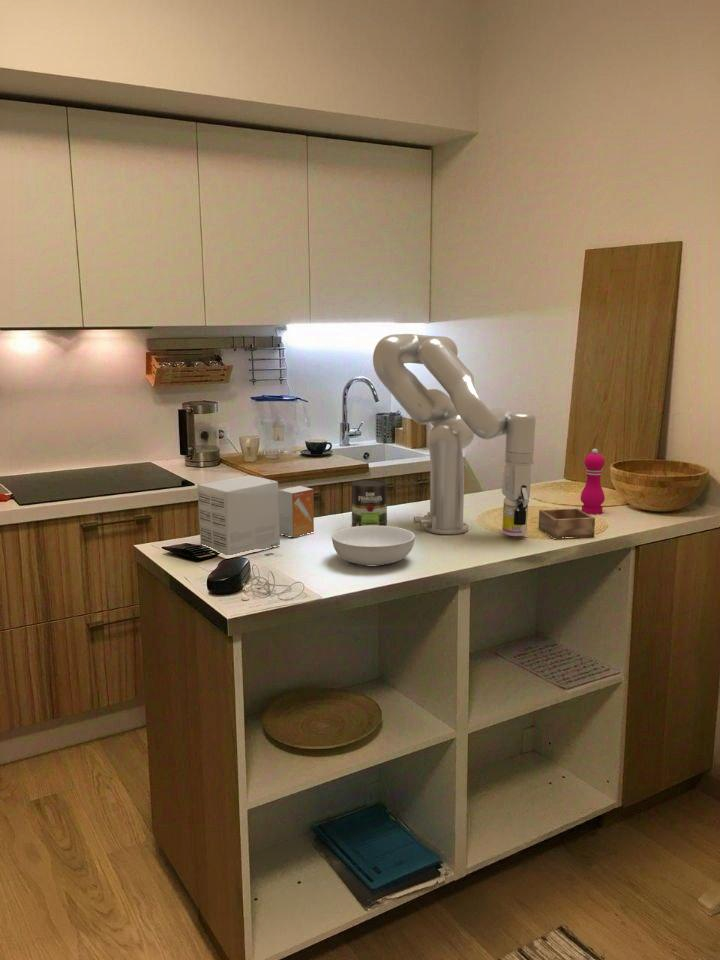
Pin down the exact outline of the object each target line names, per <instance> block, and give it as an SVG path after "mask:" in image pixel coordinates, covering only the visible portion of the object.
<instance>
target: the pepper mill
mask: <svg viewBox="0 0 720 960" xmlns="http://www.w3.org/2000/svg"><path fill="white" fill-rule="evenodd" d="M598 451H599V450H598V449H597V448H593V449H592V450H591V453H590V454H587V455H586V457H585V458H584V466H585V467H586V468H585V472H584V473H585V474H586V482H585V485H584V488H583V489H582V491H581V493H580V502H581V503H582V505H581V511H583V512H585V513H587V514H589V515H599V514H602V513H603V506H602V504H603V503H604V502H605V498H606V497H605V496H606V495H605V493H604V490H603V488H602V487H603V486H602V485H601V475H603V469H602V468H604V466H605V464H606V463H605V458H604V456H603V455H602V454H600V453H599V452H598Z"/></svg>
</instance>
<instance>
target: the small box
mask: <svg viewBox="0 0 720 960" xmlns="http://www.w3.org/2000/svg"><path fill="white" fill-rule="evenodd" d="M278 501H279V533H280V534H283V535H287V536H291V537H295V538H297V537H296V536H299V537H301V536H300V535H303V534H307V533H311V532H315V525H314V523H315V521H314V513H315V512H314V510H315V509H314V508H315V507H314V506H315V505H314V488H310V487H306V486H302V485H297V486H293V487H287V488H283V489H278ZM283 535H282V536H283ZM287 536H286V537H287ZM303 536H304V535H303Z"/></svg>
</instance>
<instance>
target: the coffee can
mask: <svg viewBox="0 0 720 960" xmlns="http://www.w3.org/2000/svg"><path fill="white" fill-rule="evenodd" d="M350 484H351V485H350V486H351V527H355V526H368V525H377V526H388V523H387V522H388V519H387V518H388V509H387V508H388V482H387V481H385V480H382V479H375V478H374V479H373V478H368V479H367V478H365V479H364V478H363V479H362V478H361V479H356V480H352V481H351V482H350Z"/></svg>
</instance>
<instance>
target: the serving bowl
mask: <svg viewBox="0 0 720 960" xmlns="http://www.w3.org/2000/svg"><path fill="white" fill-rule="evenodd" d="M415 538H416V535H415V533H414V532H412V531H410V530H409V529H405V528H401V527H397V526H389V525H387V526H377V525H368V526H355V527H352V526H350V527H345V528H341V529H339V530H336V531H334V532H333V533H332V534H331V542H332V545H333V548H334V550H335V552H336V553H337V554H338V556H339V557H340V558H342V559H343V560H345V561H347V562H349V563H353V564H356V565H360V564H362V565H361V566H365V565H381V566H385V565H384V564H386V565H389V564H392V563H396V562H398V561H401V560H403V559H405V558H406V557H407V556H408V555H409V554H410V553H411V551H412V549H413V547H414V545H415V540H416V539H415Z"/></svg>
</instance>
